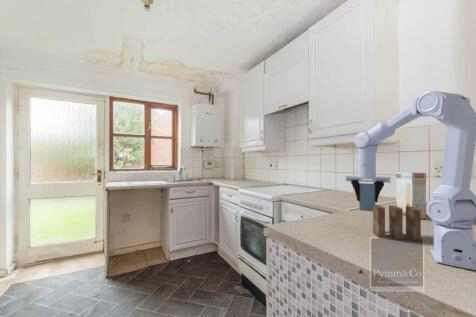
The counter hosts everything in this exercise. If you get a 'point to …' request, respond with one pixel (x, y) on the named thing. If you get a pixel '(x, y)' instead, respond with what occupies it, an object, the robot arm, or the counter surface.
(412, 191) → the cracker box
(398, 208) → the domino
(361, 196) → the domino
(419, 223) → the domino
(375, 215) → the domino
